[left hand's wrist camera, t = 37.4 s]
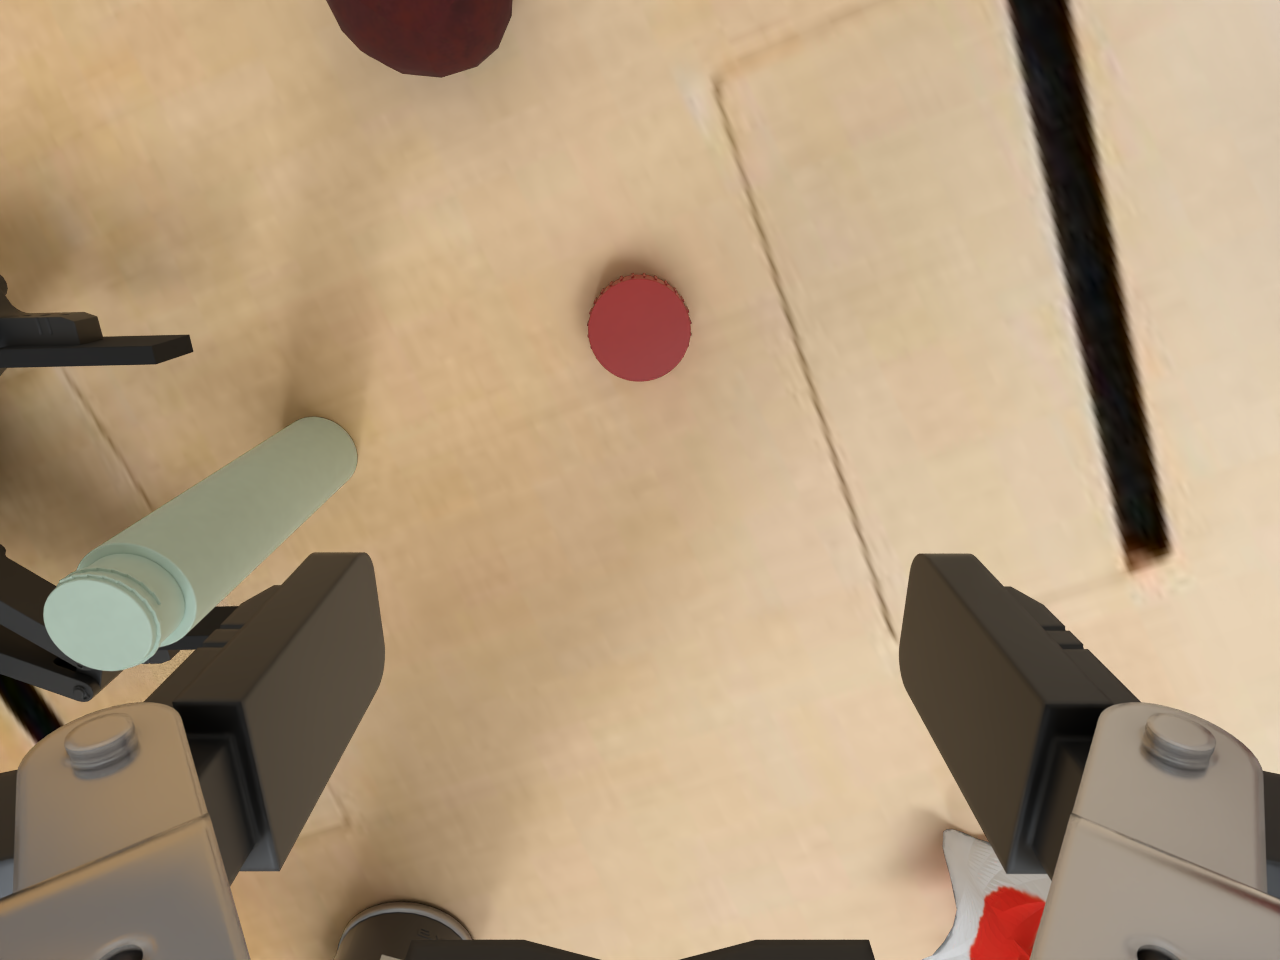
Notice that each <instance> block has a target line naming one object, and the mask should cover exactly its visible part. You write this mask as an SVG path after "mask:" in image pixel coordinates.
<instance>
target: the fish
mask: <svg viewBox="0 0 1280 960" xmlns="http://www.w3.org/2000/svg"><path fill="white" fill-rule="evenodd" d="M943 851H944V855H945V859H946V863H947V866H948V870H949V874H950V878H951V883H952V887H953V892H954V897H955V902H956V907H957V911H956V916H955V920H954V924H953V927H952V929H951V931H950V932H949V934H948V936H947V938H946V939H945V941H944V942H943V944H942V945H941V946H940V947H939V948H938V949H937V950H936V952H935V953H934V954H933V955H932V956H930V957H927V958H924V959H922V960H1030V956H1031V953H1032V949H1033V946H1034V942H1035V939H1036V935H1037V931H1038V928H1039V924H1040V921H1041V917H1042V914H1043V910H1044V907H1045V903H1046V900H1047V896H1048V892H1049V889H1050V885H1051V882H1052V881H1051V879H1050V878H1049V876H1048V875H1047V874H1006V872H1005V870H1004V869H1003V867H1002V865H1001V863H1000V861H999V859H998V858H997V856H996V854H995V852H994V850H993V848H992V847H991V845H990V843H989V842H986V841H983V840H980V839H976V838H974V837H972V836H970V835H967V834H965V833H963V832H960V831H957V830H954V829H947V830H945V831H944V832H943Z"/></svg>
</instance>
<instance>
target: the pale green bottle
mask: <svg viewBox="0 0 1280 960" xmlns="http://www.w3.org/2000/svg"><path fill="white" fill-rule="evenodd" d="M356 465H357V451H356V447H355V444H354V442H353V440H352V439H351V437H350V436H349V434H348V433H347V432H346V431H345V430H344V429H343V428H342V427H341V426H339V425H338V424H336V423H334V422H333V421H330V420H328V419H325V418H320V417H306V418H302V419H299V420H297V421H295V422H294V423H292V424H290V425H289V426H287V427H286V428H284V429H283V430H281V431H279V432H278V433H276V434H275V435H273V436H272V437H270V438H268V439H267V440H265V441H264V442H262V443H261V444H259V445H257V446H256V447H254V448H253V449H251V450H249V451H248V452H246V453H245V454H243V455H242V456H240V457H238V458H237V459H235V460H234V461H232V462H231V463H229V464H227V465H226V466H224V467H223V468H221V469H220V470H218V471H216V472H215V473H213V474H212V475H210V476H209V477H207V478H205V479H204V480H202V481H201V482H199V483H198V484H196V485H194V486H193V487H191V488H190V489H188V490H187V491H185V492H183V493H182V494H180V495H179V496H177V497H176V498H174V499H172V500H171V501H169V502H168V503H166V504H165V505H163V506H161V507H160V508H158V509H157V510H155V511H153V512H152V513H150V514H149V515H147V516H146V517H144V518H142V519H141V520H139V521H138V522H136V523H135V524H133V525H131V526H130V527H128V528H127V529H125V530H124V531H122V532H120V533H119V534H117V535H116V536H114V537H113V538H111V539H109V540H108V541H106V542H105V543H103V544H102V545H100V546H98V547H97V548H95V549H94V550H92V551H91V552H89V553H88V554H87V555H86V556H85V557H84V558H83V559H82V561H81V562H80V564H79V566H78V568H77V570H76V571H75V572H72V573H70V574H69V575H68V576H66V577H65V578H63V579H61V580H60V581H59V583H58V585H57V587H56V588H55V589H54V590H53V591H52V592H51V593H50V595H49V596H48V598H47V600H46V602H45V606H44V611H43V617H44V623H45V627H46V630H47V632H48V634H49V636H50V638H51V639H52V641H53V642H54V643H55V645H56V646H57V647H58V648H59V649H60V650H61V651H62V652H63V653H64V654H66V655H67V656H68V657H70V658H71V659H73V660H74V661H76V662H78V663H80V664H82V665H84V666H87V667H89V668H93V669H97V670H103V671H119V670H124V669H128V668H131V667H134V666H136V665H139V664H141V663H144V662H145V661H147V660H148V659H149V658H150V657H152V656H153V655H154V654H155V653H156V651H157V650H158V648H159V647H163V646H166V645H170V644H172V643H174V642H177V641H178V640H180V639H181V638H183V637H184V636H185V635H186V634H187V633H188V632H189V631H190V630H191V629H192V628H193V627H194V626H195V625H196V624H198V623H199V622H200V621H201V620H202V619H203V618H204V617H205V616H206V615H207V614H208V613H209V612H210V611H211V610H212V609H213V608H214V607H215V606H216V605H217V604H219V603H220V602H221V601H222V600H223V599H224V598H225V597H226V596H227V595H228V594H229V593H230V592H231V591H232V590H233V589H234V588H235V587H236V586H237V585H238V584H240V583H241V582H242V581H243V580H244V579H245V578H246V577H247V576H248V575H249V574H250V573H251V572H252V571H253V570H254V569H255V568H256V567H257V566H258V565H260V564H261V563H262V562H263V561H264V560H265V559H266V558H267V557H268V556H269V555H270V554H271V553H272V552H273V551H274V550H275V549H276V548H277V547H278V546H279V545H281V544H282V543H283V542H284V541H285V540H286V539H287V538H288V537H289V536H290V535H291V534H292V533H293V532H294V531H295V530H296V529H297V528H298V527H299V526H300V525H302V524H303V523H304V522H305V521H306V520H307V519H308V518H309V517H310V516H311V515H312V514H313V513H314V512H315V511H316V510H317V509H318V508H319V507H320V506H322V505H323V504H324V503H325V502H326V501H327V500H328V499H329V498H330V497H331V496H332V495H333V494H334V493H335V492H336V491H337V490H338V489H339V488H340V487H341V486H343V485H344V484H345V483H346V482H347V481H348V480H349V479H350V478H351V476H352V475H353V473H354V471H355V469H356Z"/></svg>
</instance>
